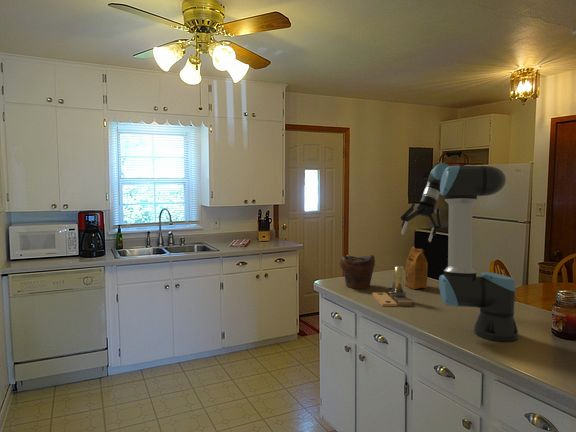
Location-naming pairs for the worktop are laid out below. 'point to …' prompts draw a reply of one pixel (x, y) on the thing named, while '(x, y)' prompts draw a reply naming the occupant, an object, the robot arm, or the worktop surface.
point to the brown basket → (358, 270)
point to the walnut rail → (399, 298)
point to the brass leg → (398, 282)
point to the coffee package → (416, 269)
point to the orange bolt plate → (384, 299)
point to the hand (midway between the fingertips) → (415, 237)
